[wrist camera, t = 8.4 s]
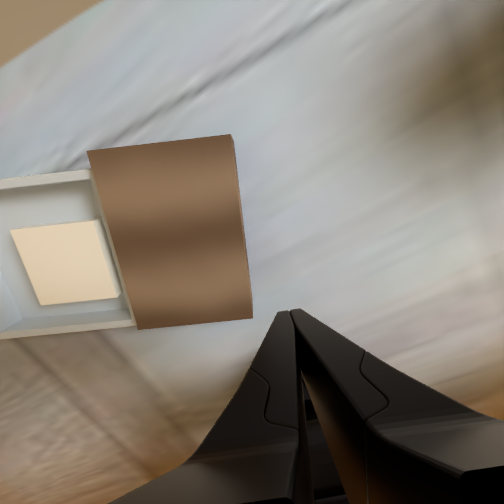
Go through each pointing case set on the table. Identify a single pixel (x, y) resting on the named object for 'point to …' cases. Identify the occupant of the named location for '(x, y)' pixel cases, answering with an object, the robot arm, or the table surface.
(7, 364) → the table surface
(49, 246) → the block
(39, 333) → the box
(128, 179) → the brown rectangular slab
